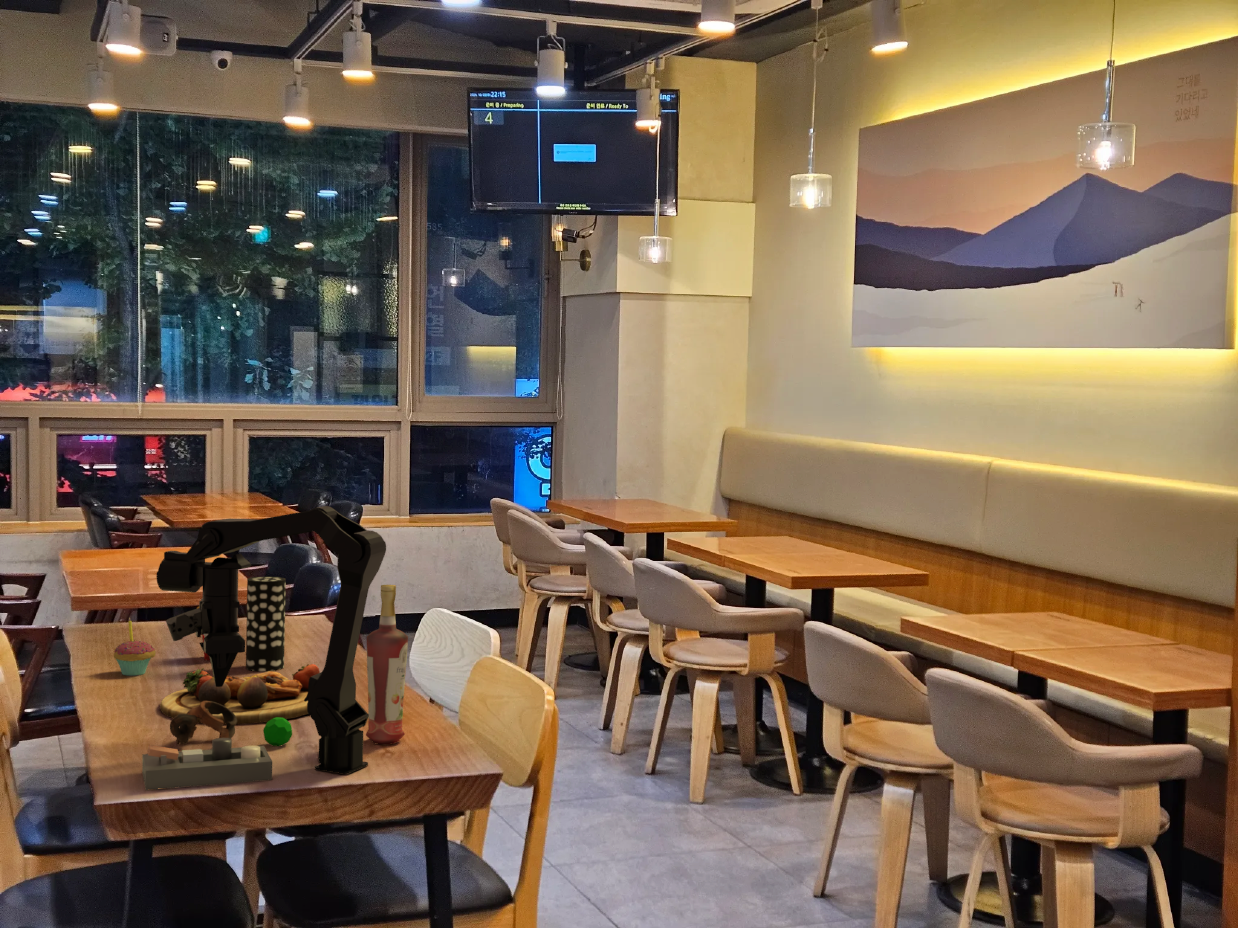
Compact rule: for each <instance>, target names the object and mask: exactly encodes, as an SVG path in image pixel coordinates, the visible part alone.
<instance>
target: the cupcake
mask: <svg viewBox="0 0 1238 928" xmlns="http://www.w3.org/2000/svg"><path fill="white" fill-rule="evenodd" d="M128 633H129V634H128V635H129V641H125V642H122V643H120V644H119V645H117V647H115V648H114V652H113V658H114V659H115V660H116V662H117V664H118V666H119V669H120V671H121V675H123V676H135V677H136V676H141V675H144V674H146V672H147V669H148V666H149V663H150V660H151V659H152V658H154V657H155V656H156V653H157V652H156V648H155V647H154V646H153V645H152V644H149V643H148V642H147V641H144V640H143V641H141V640H134V636H133V635H134V633H133V622H132V620H131V618H130V617H128Z"/></svg>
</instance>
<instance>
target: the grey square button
mask: <svg viewBox="0 0 1238 928" xmlns="http://www.w3.org/2000/svg"><path fill="white" fill-rule="evenodd" d="M202 750H203V749H201V748H197V749H185V750H181V752H182V763H190V762H203V752H202Z"/></svg>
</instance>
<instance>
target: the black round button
mask: <svg viewBox="0 0 1238 928" xmlns="http://www.w3.org/2000/svg"><path fill="white" fill-rule="evenodd" d="M232 744H233V740H232V738H231V739H230V738H219V737H218V738H213V739H212V740H211V749H212V760H214V761H216V760H230V759H231V755H232V748H233V746H232Z"/></svg>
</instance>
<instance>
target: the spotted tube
mask: <svg viewBox="0 0 1238 928" xmlns="http://www.w3.org/2000/svg"><path fill="white" fill-rule="evenodd" d="M286 579H287V578H284V577H280V576H257V577H256V576H255V577H249V578H247V580H246V583H247V584H246V635H245V636H246V638H245V669H246V670H247V671H251V670H252V671H251V672H253V671H254V672H268V671H272V672H275V671H279V670H282V668H283V669H284V668H285V641H286V640H285V639H286V638H285V637H286V636H285V635H286V632H285V631H286V589H287V588H286V585H287V584H286ZM274 670H275V671H274Z"/></svg>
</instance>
